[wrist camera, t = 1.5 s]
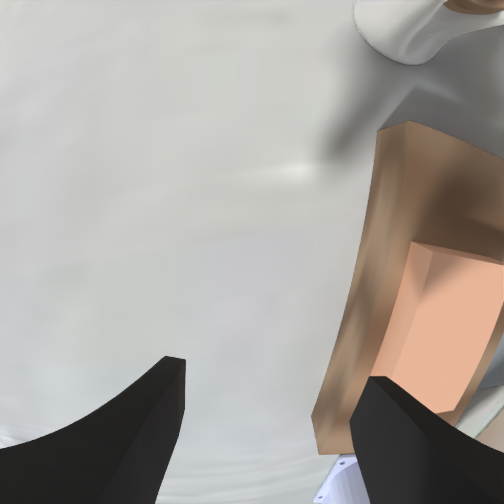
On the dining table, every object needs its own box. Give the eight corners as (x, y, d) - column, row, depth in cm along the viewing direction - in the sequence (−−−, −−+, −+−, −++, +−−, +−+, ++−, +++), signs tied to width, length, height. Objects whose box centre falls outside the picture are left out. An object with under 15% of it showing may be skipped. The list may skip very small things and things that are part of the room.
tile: (440, 391, 15) (453, 410, 13) (360, 397, 15) (370, 420, 13) (491, 257, 13) (513, 267, 11) (411, 241, 12) (432, 251, 11)
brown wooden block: (427, 410, 20) (445, 439, 16) (311, 416, 20) (318, 454, 16) (502, 177, 15) (539, 181, 11) (377, 131, 15) (409, 120, 11)
